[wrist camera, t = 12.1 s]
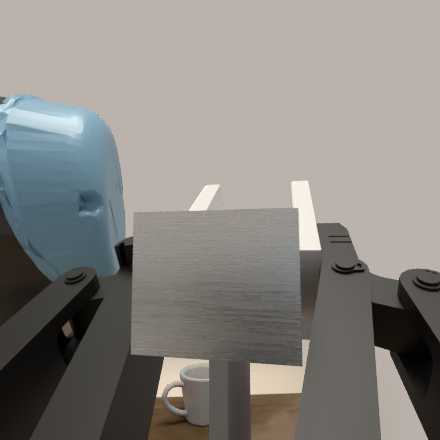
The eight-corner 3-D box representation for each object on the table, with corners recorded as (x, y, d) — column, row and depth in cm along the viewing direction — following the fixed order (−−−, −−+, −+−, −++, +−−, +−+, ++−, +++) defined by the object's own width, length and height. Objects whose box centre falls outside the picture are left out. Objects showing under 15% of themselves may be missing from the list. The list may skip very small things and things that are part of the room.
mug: (235, 422, 70) (235, 374, 71) (170, 442, 63) (170, 388, 64) (212, 402, 79) (212, 360, 80) (153, 417, 72) (154, 371, 73)
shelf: (360, 662, 29) (347, 320, 32) (209, 626, 32) (209, 315, 35) (332, 502, 48) (325, 294, 50) (238, 488, 50) (236, 292, 53)
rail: (302, 366, 6) (298, 207, 6) (130, 354, 7) (133, 212, 7) (291, 271, 31) (290, 241, 32) (255, 271, 32) (255, 241, 32)
